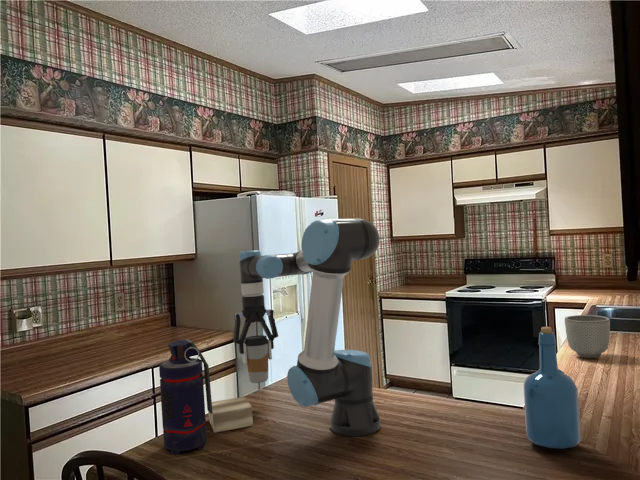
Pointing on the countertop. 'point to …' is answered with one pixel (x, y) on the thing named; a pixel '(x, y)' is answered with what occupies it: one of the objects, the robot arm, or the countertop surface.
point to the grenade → (184, 397)
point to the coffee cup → (257, 358)
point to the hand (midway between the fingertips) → (257, 360)
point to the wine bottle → (551, 400)
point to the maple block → (230, 414)
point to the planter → (588, 334)
